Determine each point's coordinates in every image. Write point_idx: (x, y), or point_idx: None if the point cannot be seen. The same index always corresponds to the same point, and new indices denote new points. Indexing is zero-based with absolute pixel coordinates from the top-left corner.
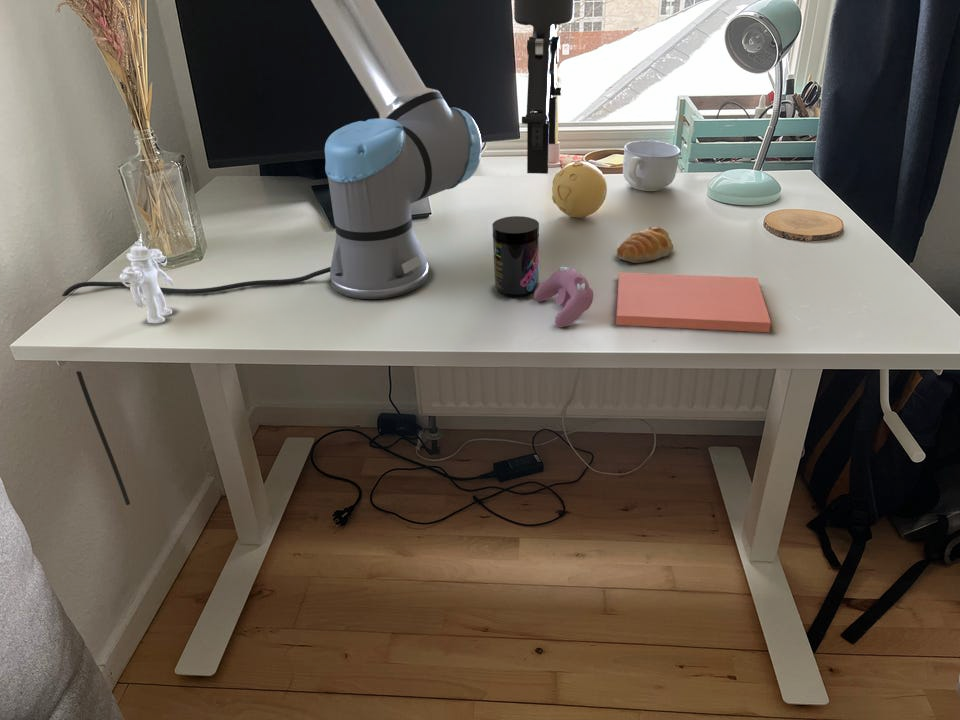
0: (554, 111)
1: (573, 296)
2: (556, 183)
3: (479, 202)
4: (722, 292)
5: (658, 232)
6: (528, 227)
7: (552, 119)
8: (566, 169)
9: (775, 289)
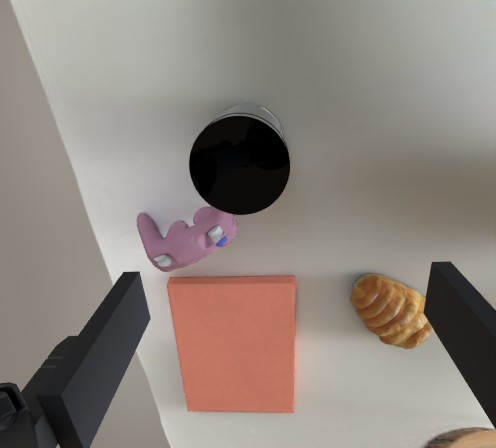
0: (479, 400)
1: (148, 248)
2: None
3: None
4: (250, 382)
5: (407, 338)
6: (227, 196)
7: (465, 367)
8: None
9: (288, 416)
